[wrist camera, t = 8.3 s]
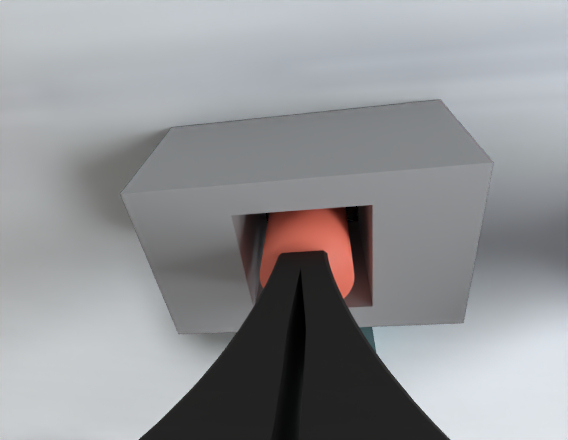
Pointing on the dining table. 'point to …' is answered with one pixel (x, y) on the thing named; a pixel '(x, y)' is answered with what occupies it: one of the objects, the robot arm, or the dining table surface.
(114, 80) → the dining table surface
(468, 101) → the dining table surface
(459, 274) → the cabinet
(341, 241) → the plunger
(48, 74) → the dining table surface
